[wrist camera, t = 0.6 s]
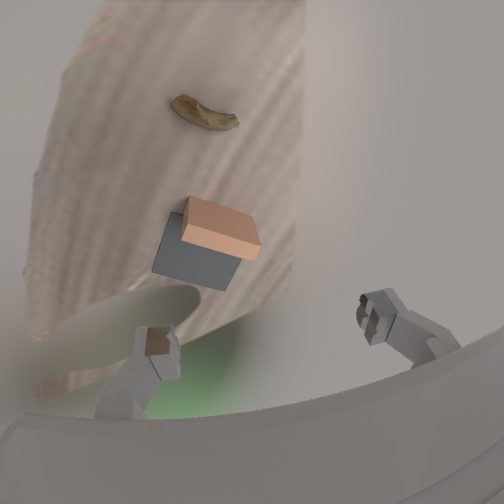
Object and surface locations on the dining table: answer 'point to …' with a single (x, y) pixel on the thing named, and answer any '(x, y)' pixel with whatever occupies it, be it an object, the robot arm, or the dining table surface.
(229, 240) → the tile
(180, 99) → the pottery shard
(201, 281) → the mat
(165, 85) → the dining table surface
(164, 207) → the dining table surface
